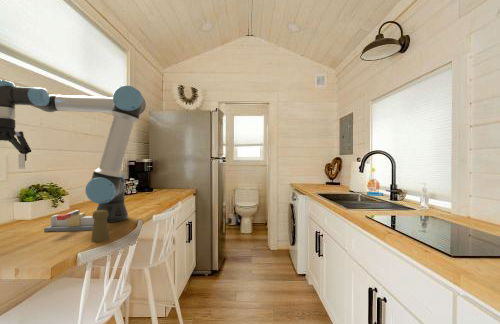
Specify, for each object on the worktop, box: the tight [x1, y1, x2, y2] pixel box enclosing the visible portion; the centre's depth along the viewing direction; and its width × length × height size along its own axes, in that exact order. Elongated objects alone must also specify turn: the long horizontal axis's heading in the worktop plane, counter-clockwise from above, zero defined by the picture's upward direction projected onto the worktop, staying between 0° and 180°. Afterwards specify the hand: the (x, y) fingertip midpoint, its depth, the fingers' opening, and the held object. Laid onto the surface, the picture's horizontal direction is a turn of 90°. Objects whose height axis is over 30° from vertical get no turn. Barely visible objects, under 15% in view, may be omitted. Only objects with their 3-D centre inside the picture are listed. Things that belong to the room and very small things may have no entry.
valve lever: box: [57, 209, 81, 220], centre depth 110 cm, size 3×14×2 cm, turn 9°
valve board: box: [43, 212, 94, 233], centre depth 116 cm, size 20×10×6 cm, turn 99°
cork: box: [90, 209, 110, 243], centre depth 99 cm, size 6×6×11 cm
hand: (4, 169), depth 111 cm, fingers open, 13 cm apart
